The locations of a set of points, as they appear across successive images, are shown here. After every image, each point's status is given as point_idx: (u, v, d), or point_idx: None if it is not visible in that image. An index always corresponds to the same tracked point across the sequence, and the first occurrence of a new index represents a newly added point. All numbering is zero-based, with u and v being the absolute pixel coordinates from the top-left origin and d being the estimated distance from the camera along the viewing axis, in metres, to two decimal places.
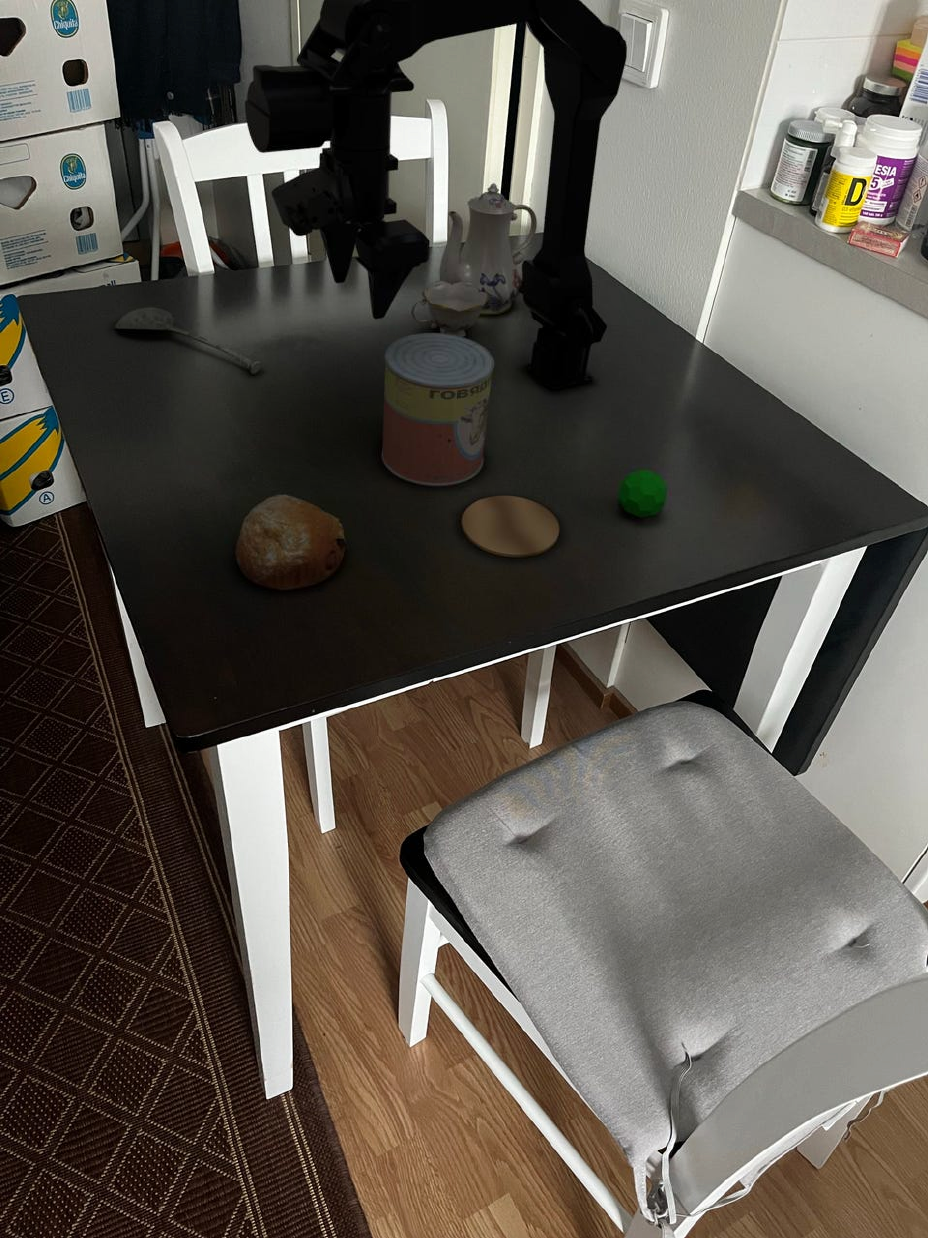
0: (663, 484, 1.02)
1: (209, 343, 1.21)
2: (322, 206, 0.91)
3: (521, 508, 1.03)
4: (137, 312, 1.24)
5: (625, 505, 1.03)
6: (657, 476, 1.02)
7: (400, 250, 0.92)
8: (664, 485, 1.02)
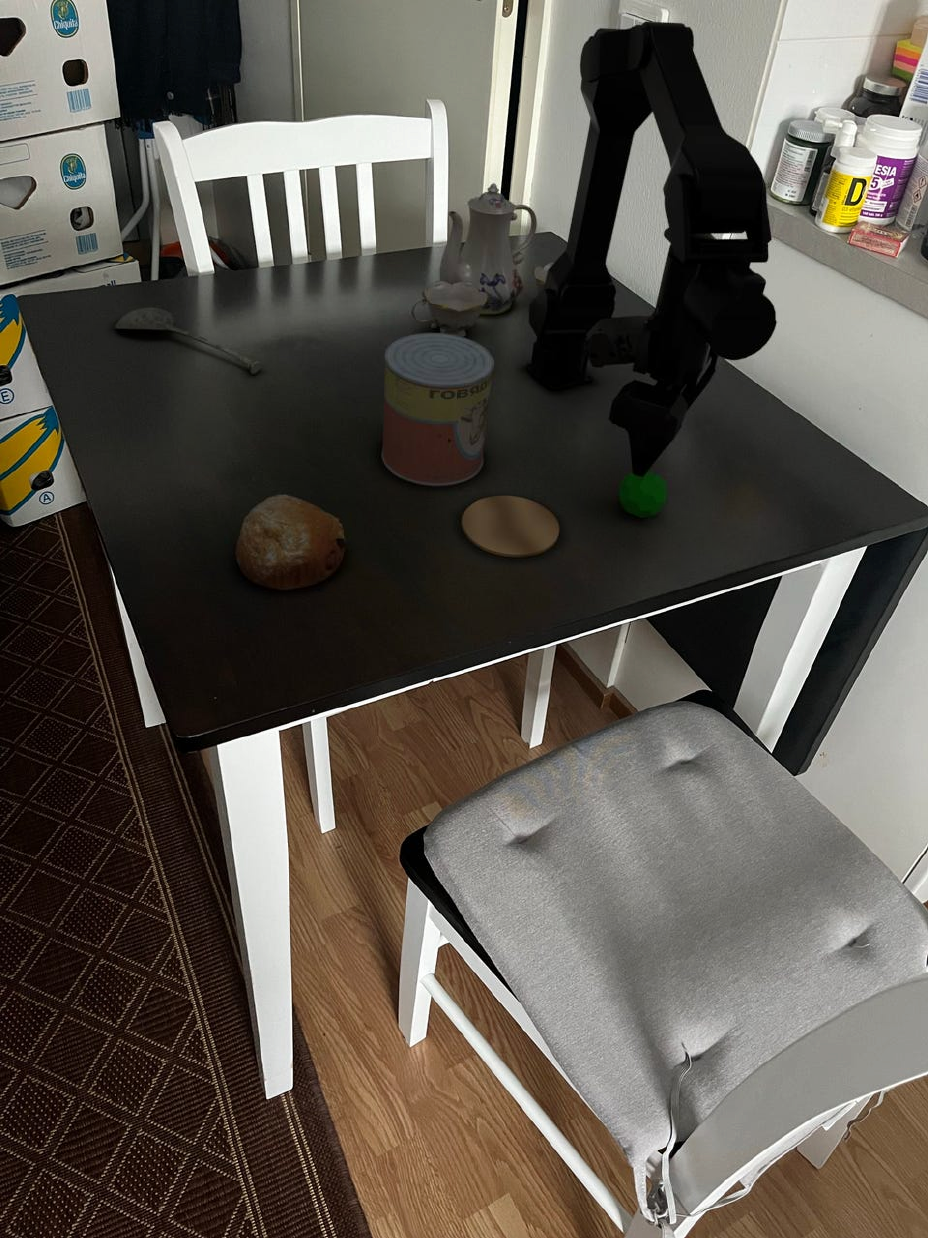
0: (663, 484, 1.02)
1: (209, 343, 1.21)
2: (604, 346, 0.91)
3: (521, 508, 1.03)
4: (137, 312, 1.24)
5: (625, 505, 1.03)
6: (657, 476, 1.02)
7: (638, 415, 0.88)
8: (664, 485, 1.02)
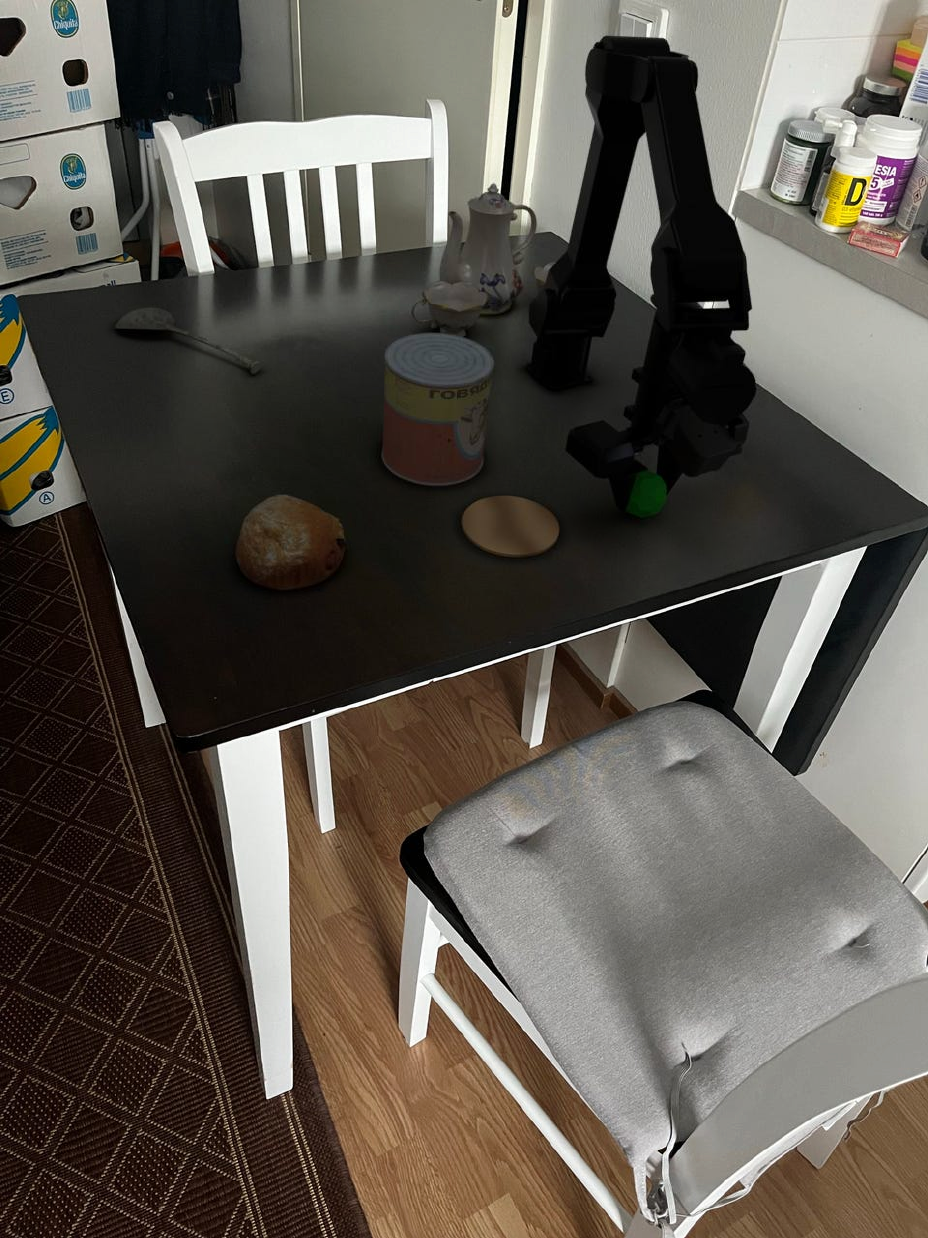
0: (663, 484, 1.02)
1: (209, 343, 1.21)
2: None
3: (521, 508, 1.03)
4: (137, 312, 1.24)
5: None
6: (657, 476, 1.02)
7: None
8: (664, 485, 1.02)
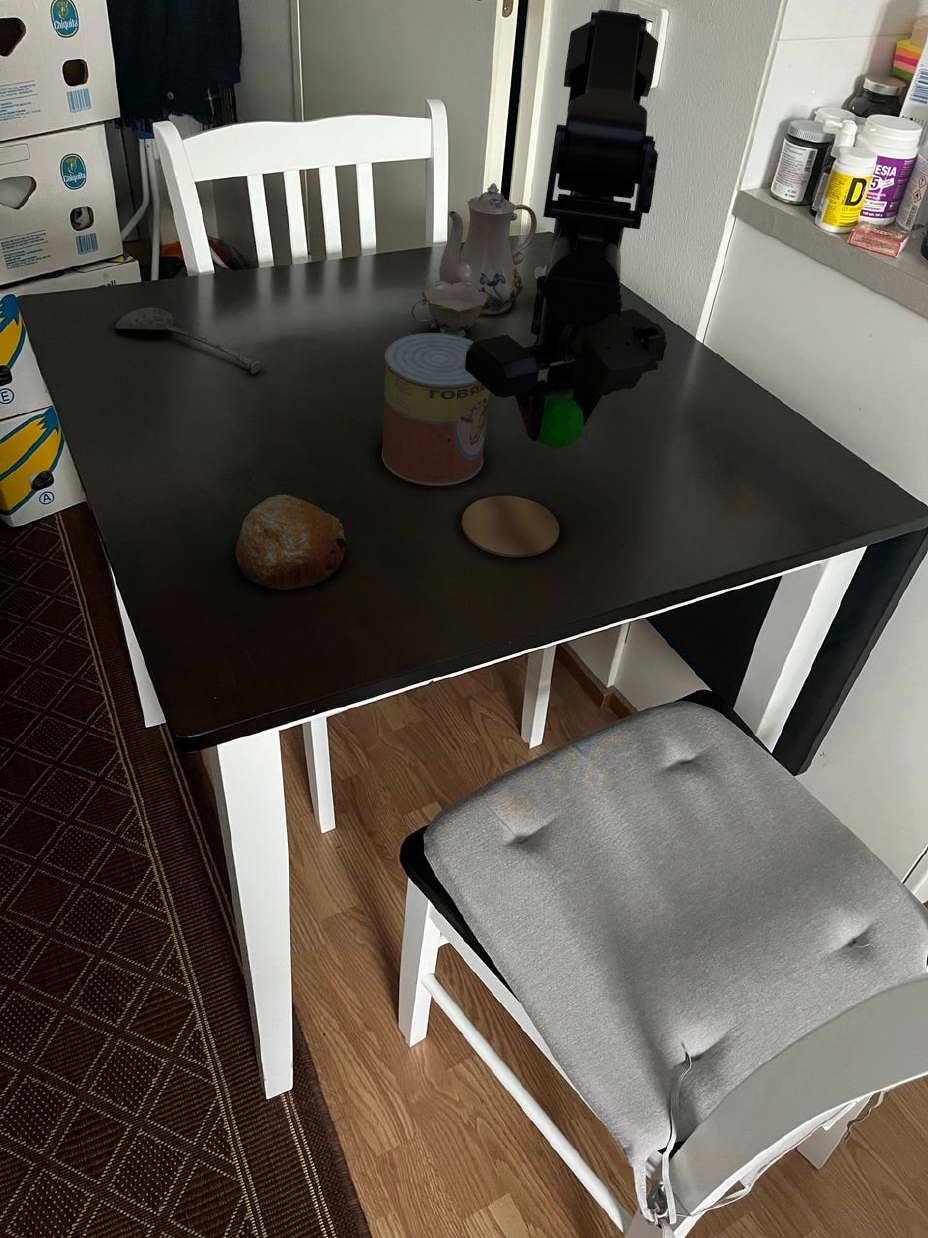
0: (578, 411, 0.92)
1: (209, 343, 1.21)
2: None
3: (521, 508, 1.03)
4: (137, 312, 1.24)
5: None
6: (572, 402, 0.92)
7: None
8: (580, 412, 0.93)
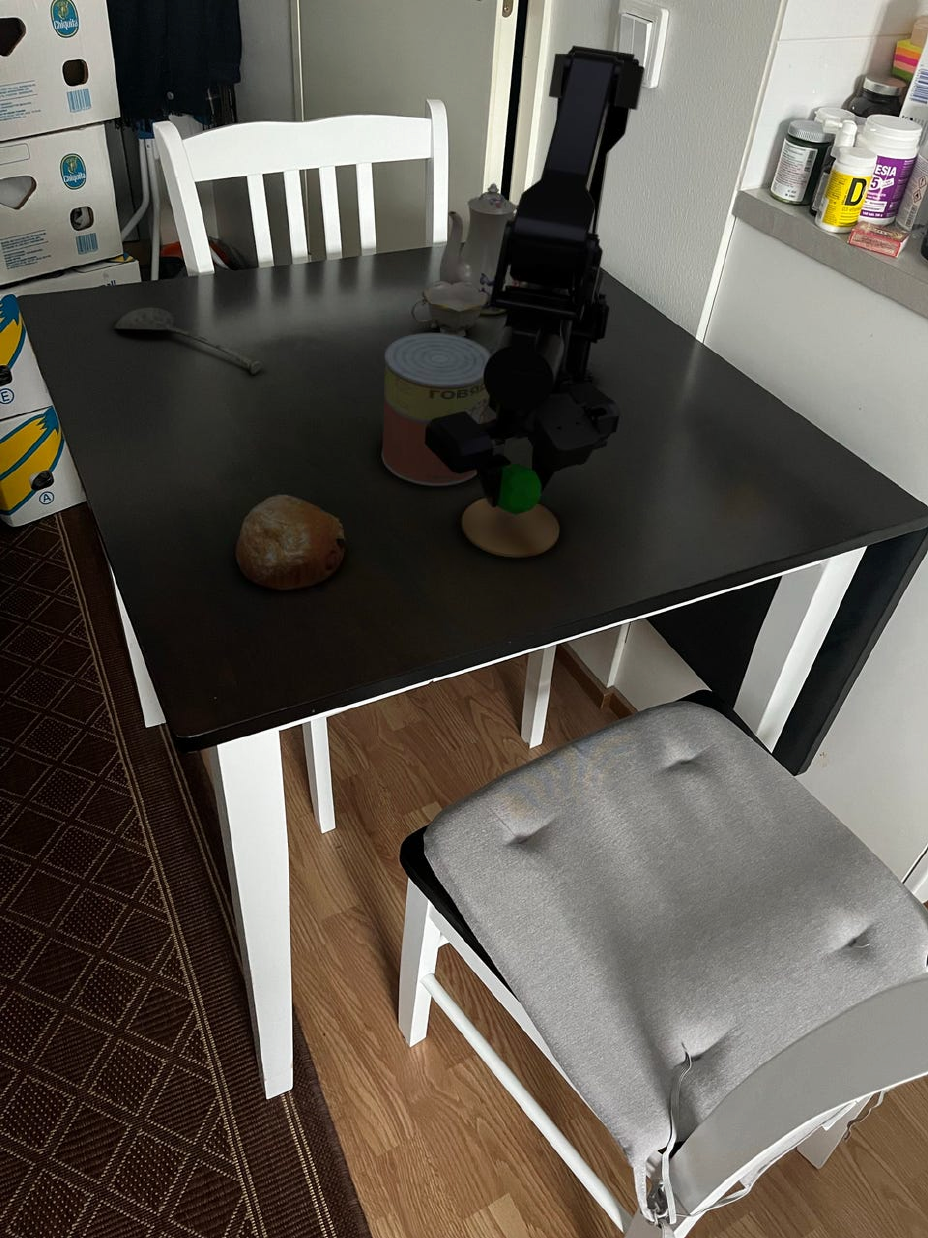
0: (536, 479, 0.97)
1: (209, 343, 1.21)
2: None
3: None
4: (137, 312, 1.24)
5: None
6: (530, 471, 0.97)
7: None
8: (537, 480, 0.97)
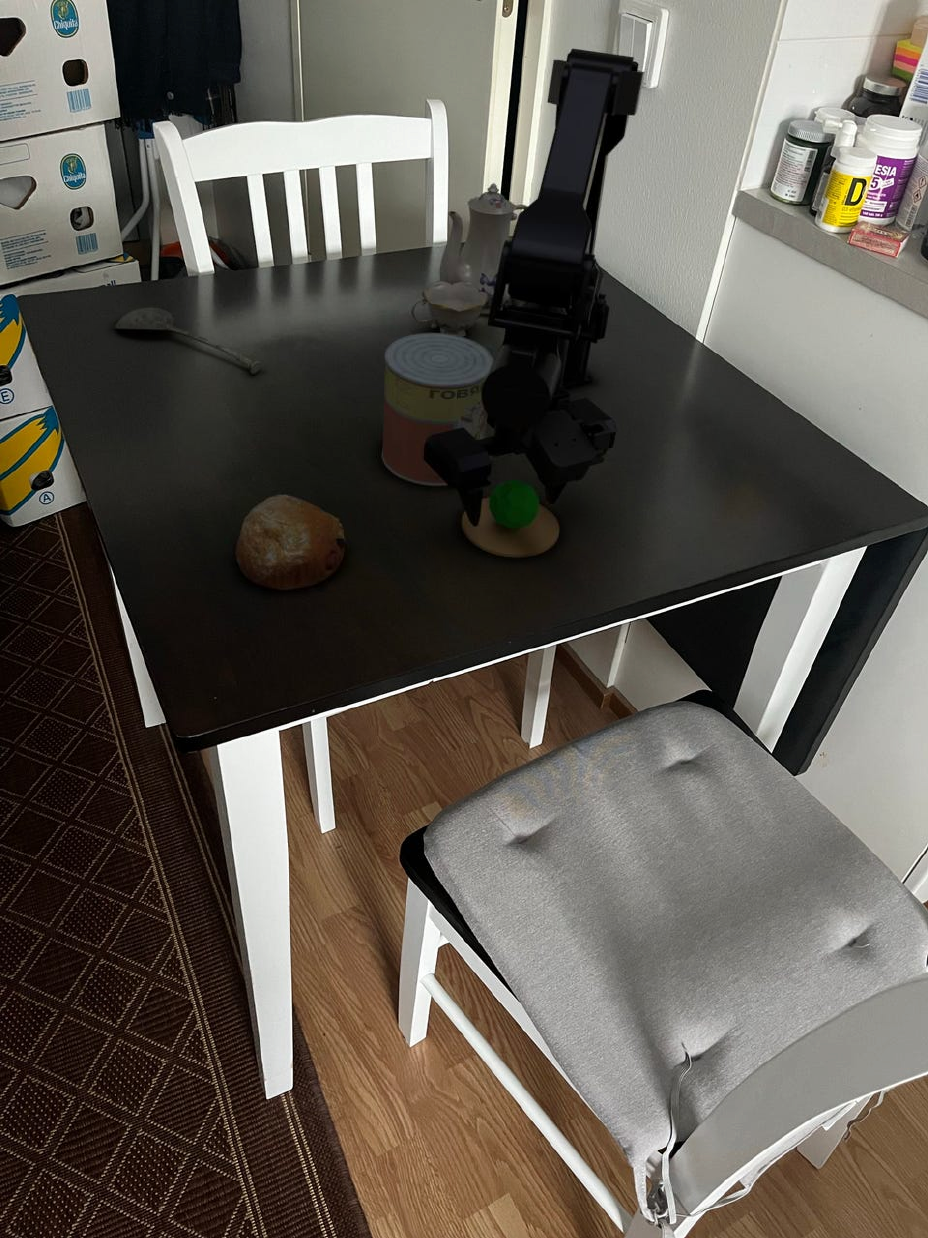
0: (533, 495, 0.98)
1: (209, 343, 1.21)
2: None
3: None
4: (137, 312, 1.24)
5: (495, 516, 0.99)
6: (527, 486, 0.98)
7: None
8: (535, 495, 0.98)
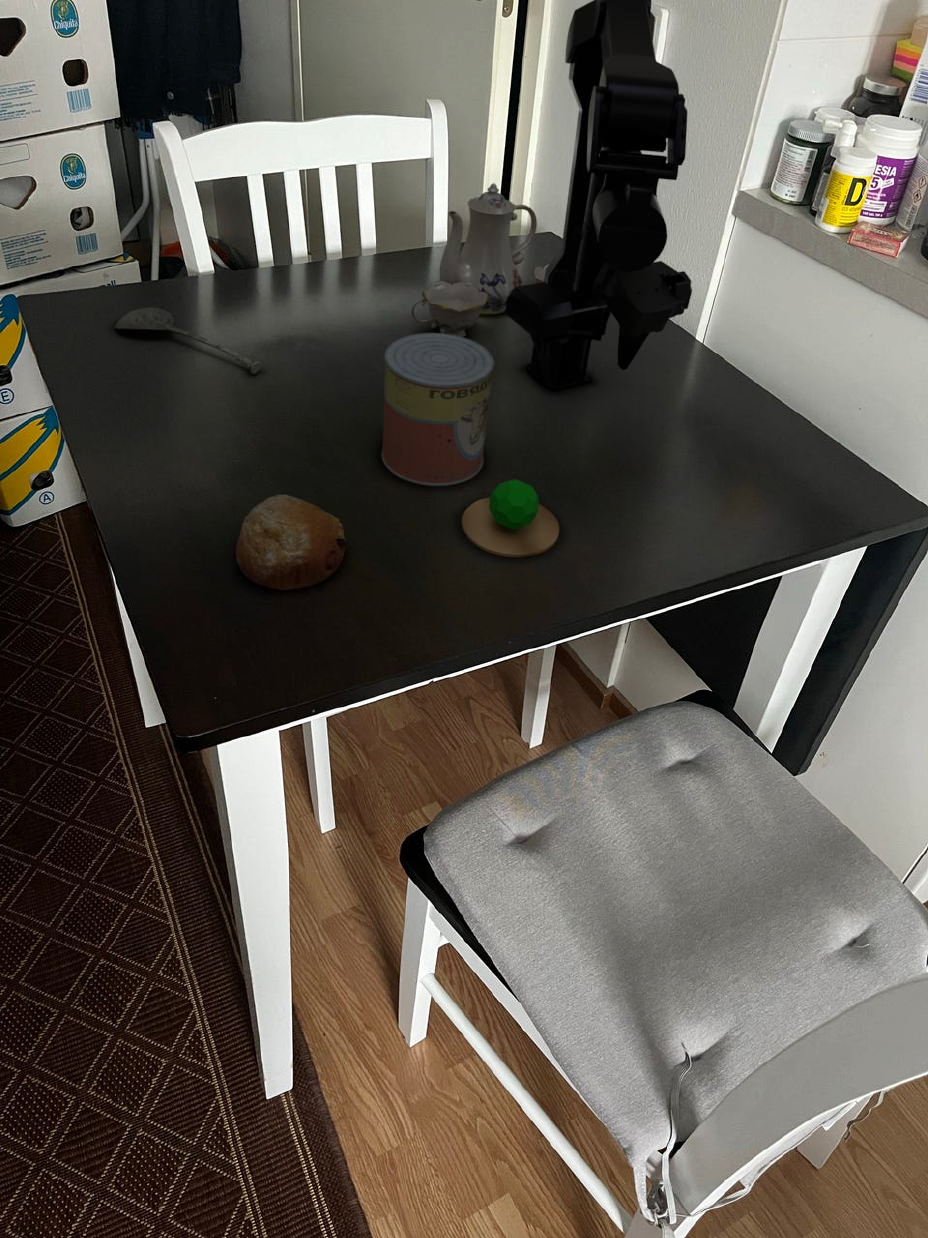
0: (533, 495, 0.98)
1: (209, 343, 1.21)
2: None
3: None
4: (137, 312, 1.24)
5: (495, 516, 0.99)
6: (527, 486, 0.98)
7: None
8: (535, 495, 0.98)
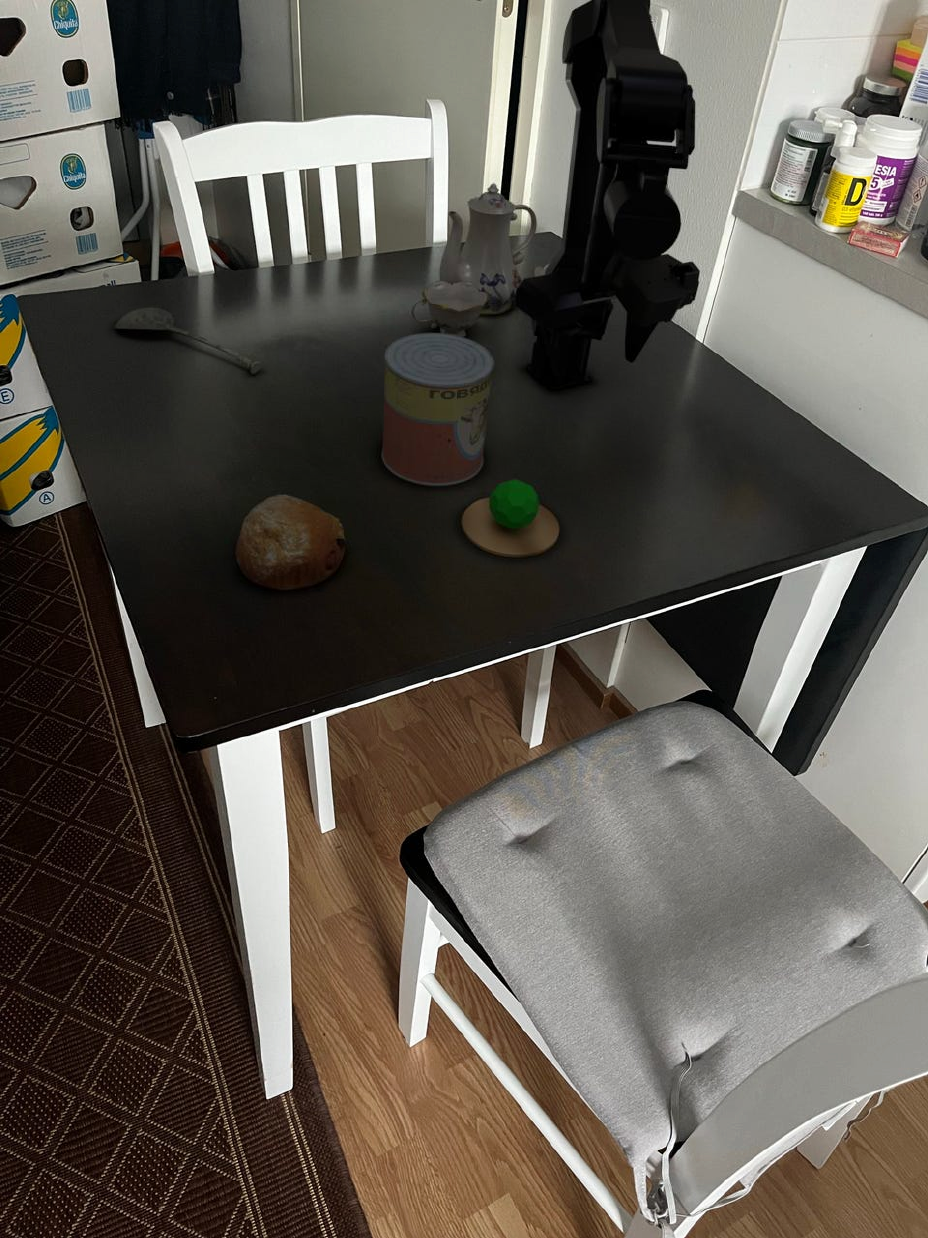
0: (533, 495, 0.98)
1: (209, 343, 1.21)
2: None
3: None
4: (137, 312, 1.24)
5: (495, 516, 0.99)
6: (527, 486, 0.98)
7: None
8: (535, 495, 0.98)
